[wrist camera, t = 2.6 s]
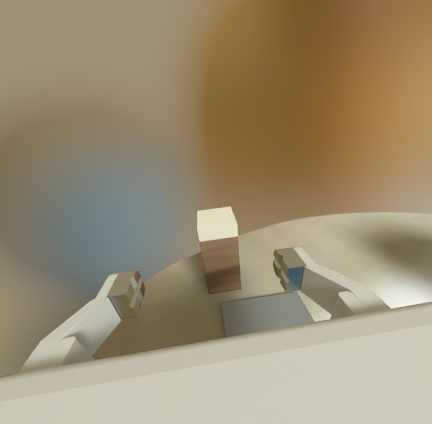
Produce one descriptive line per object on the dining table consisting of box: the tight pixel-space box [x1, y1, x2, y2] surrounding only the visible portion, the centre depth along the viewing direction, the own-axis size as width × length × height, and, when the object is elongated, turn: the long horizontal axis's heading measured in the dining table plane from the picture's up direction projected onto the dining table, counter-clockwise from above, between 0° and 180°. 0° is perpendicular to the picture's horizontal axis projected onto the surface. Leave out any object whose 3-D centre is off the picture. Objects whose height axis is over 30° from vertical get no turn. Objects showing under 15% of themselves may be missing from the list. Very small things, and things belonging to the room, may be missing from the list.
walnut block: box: [197, 207, 241, 294], centre depth 26 cm, size 5×5×12 cm
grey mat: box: [221, 292, 314, 338], centre depth 18 cm, size 16×11×1 cm
